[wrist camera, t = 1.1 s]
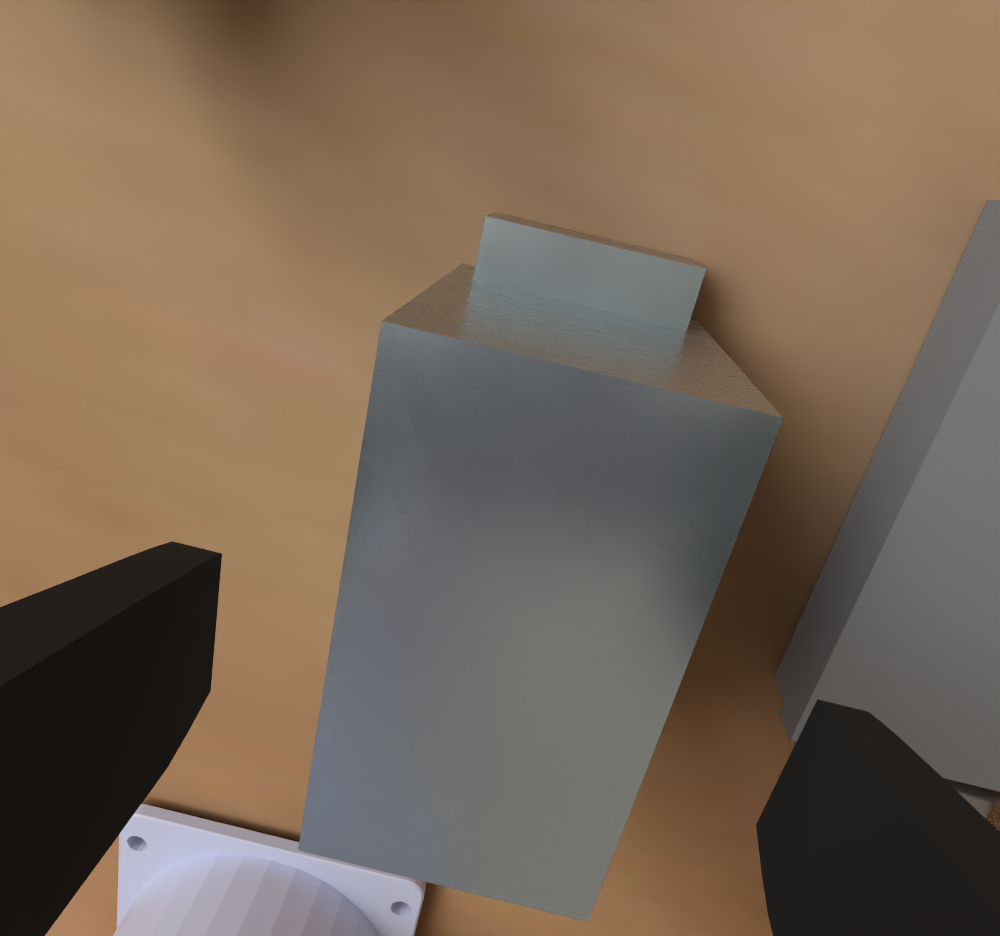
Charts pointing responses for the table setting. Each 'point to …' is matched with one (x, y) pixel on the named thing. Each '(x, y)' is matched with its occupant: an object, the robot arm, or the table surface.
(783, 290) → the table surface
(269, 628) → the table surface
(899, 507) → the stand
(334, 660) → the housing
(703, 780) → the table surface
